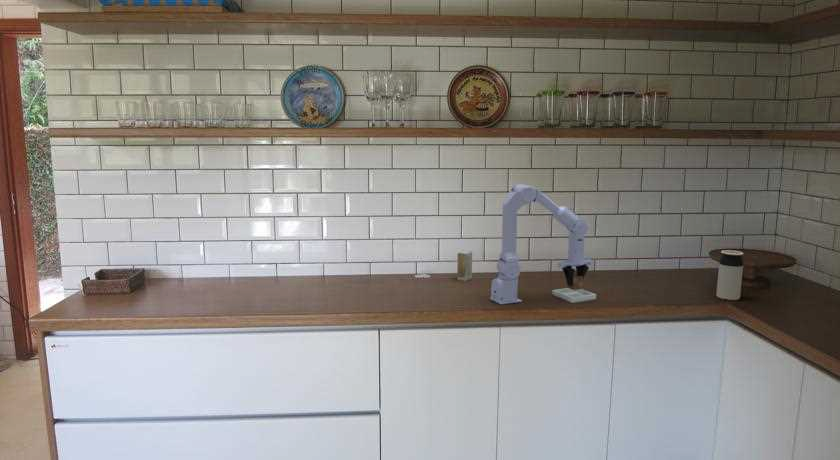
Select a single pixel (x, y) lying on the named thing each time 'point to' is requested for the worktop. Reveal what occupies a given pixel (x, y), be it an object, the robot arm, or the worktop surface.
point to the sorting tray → (574, 295)
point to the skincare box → (464, 265)
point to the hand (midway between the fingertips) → (574, 284)
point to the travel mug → (730, 275)
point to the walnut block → (576, 282)
